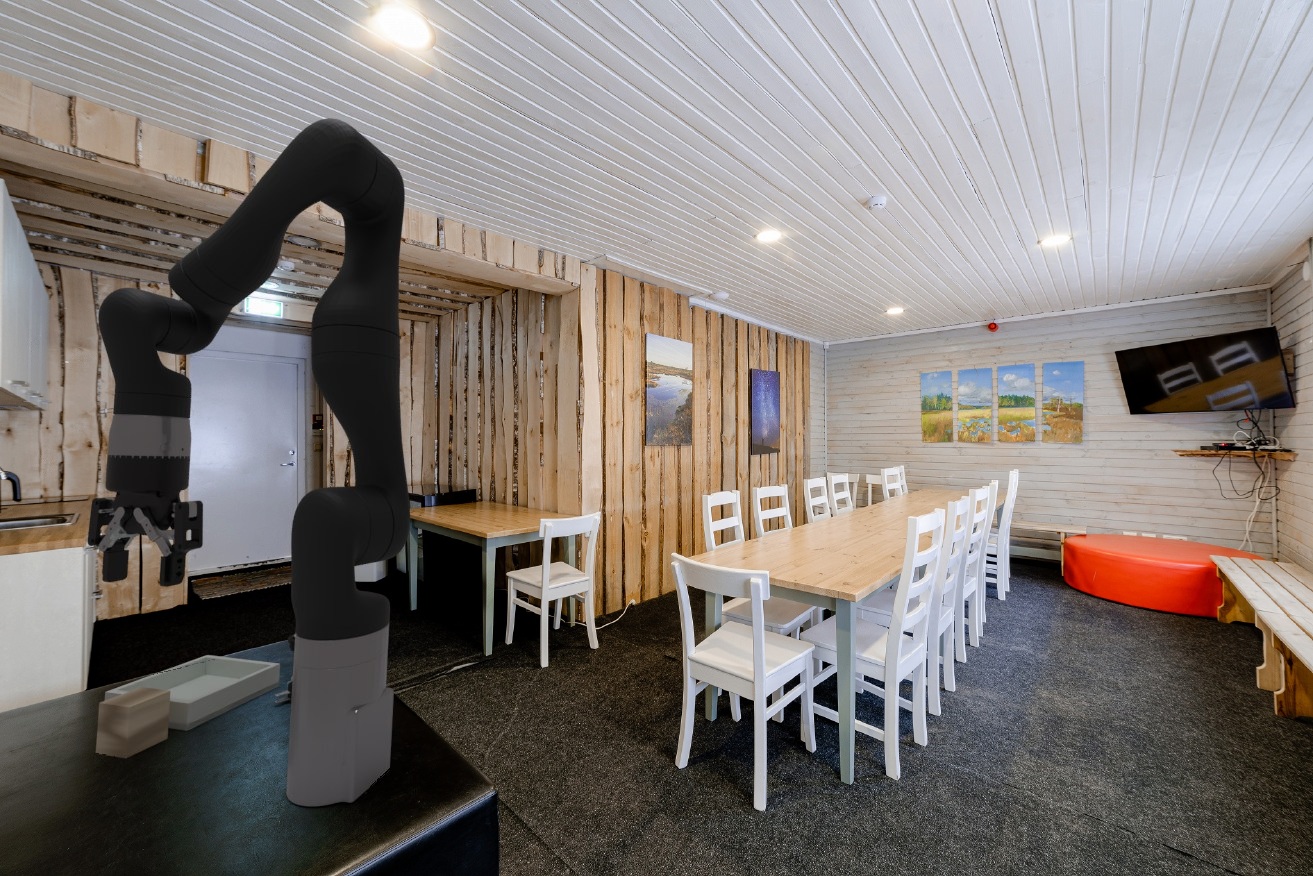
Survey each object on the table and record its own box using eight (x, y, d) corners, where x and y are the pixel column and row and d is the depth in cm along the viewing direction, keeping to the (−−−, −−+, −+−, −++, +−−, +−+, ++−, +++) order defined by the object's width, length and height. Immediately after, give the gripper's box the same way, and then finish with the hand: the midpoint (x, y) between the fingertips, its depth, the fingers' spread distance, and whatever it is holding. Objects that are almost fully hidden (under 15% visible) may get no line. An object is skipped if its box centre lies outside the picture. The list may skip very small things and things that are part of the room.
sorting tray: (278, 686, 82) (280, 663, 82) (187, 730, 69) (189, 703, 69) (205, 677, 84) (207, 654, 84) (103, 718, 71) (105, 691, 71)
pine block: (167, 738, 67) (170, 690, 67) (126, 758, 62) (129, 707, 62) (138, 734, 67) (141, 687, 68) (95, 753, 63) (99, 702, 63)
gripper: (227, 454, 68) (220, 580, 68) (138, 451, 71) (130, 573, 70) (165, 454, 61) (156, 595, 60) (67, 451, 63) (58, 586, 63)
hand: (142, 583), depth 65 cm, fingers open, 8 cm apart
